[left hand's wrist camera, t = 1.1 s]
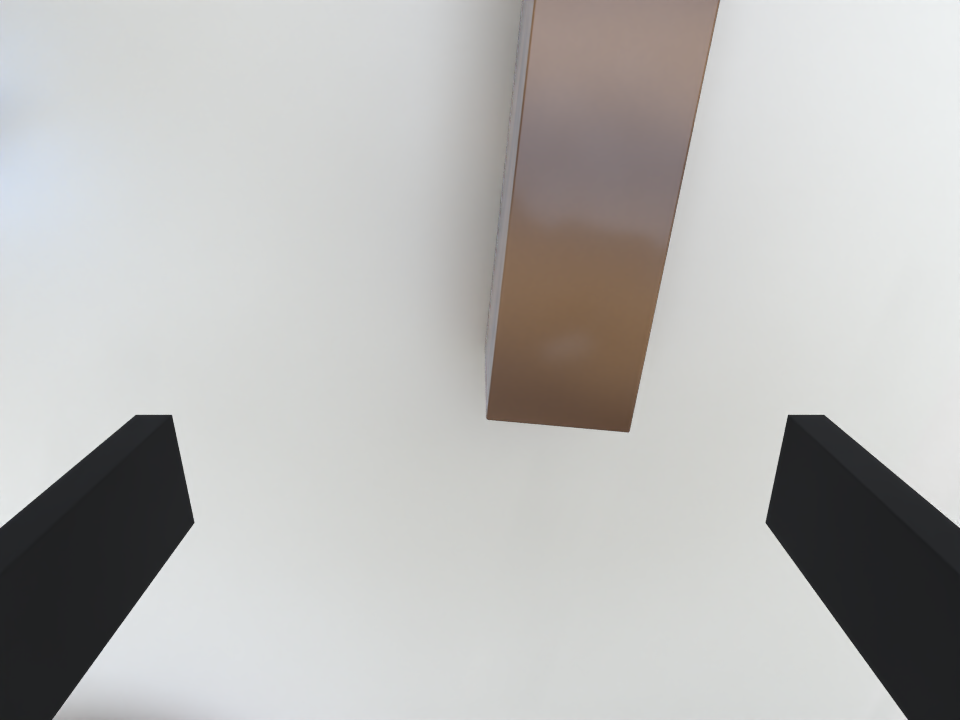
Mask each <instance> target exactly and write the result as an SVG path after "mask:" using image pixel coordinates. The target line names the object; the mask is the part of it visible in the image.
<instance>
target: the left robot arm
mask: <svg viewBox="0 0 960 720" xmlns="http://www.w3.org/2000/svg"><path fill="white" fill-rule="evenodd" d="M193 524H194V518H193V514H192V509H191V504H190V499H189V494H188V490H187V485H186V480H185V475H184V470H183V466H182V461H181V456H180V451H179V447H178V442H177V437H176V432H175V427H174V423H173V418H172V415H135V416H134V417H133V418H132V419H130V420H129V421H128V422H127V423H126V424H125V425H123V426H122V427H121V428H120V429H119V430H117V431H116V432H115V433H114V434H113V435H111V436H110V437H109V438H108V439H107V440H105V441H104V442H103V443H102V444H101V445H99V446H98V447H97V448H96V449H95V450H93V451H92V452H91V453H90V454H89V455H87V456H86V457H85V458H84V459H83V460H81V461H80V462H79V463H78V464H77V465H75V466H74V467H73V468H72V469H71V470H69V471H68V472H67V473H66V474H65V475H63V476H62V477H61V478H60V479H59V480H57V481H56V482H55V483H54V484H53V485H51V486H50V487H49V488H48V489H47V490H45V491H44V492H43V493H42V494H41V495H39V496H38V497H37V498H36V499H35V500H33V501H32V502H31V503H30V504H29V505H27V506H26V507H25V508H24V509H23V510H21V511H20V512H19V513H18V514H17V515H15V516H14V517H13V518H12V519H11V520H9V521H8V522H7V523H6V524H5V525H3V526H2V527H1V528H0V720H52V719H53V718H54V716H55V715H56V713H57V712H58V711H59V709H60V708H61V707H62V705H63V704H64V702H65V701H66V700H67V698H68V697H69V695H70V694H71V693H72V691H73V690H74V689H75V687H76V686H77V684H78V683H79V682H80V680H81V679H82V677H83V676H84V675H85V673H86V672H87V671H88V669H89V668H90V666H91V665H92V664H93V662H94V661H95V660H96V658H97V657H98V655H99V654H100V653H101V651H102V650H103V648H104V647H105V646H106V644H107V643H108V642H109V640H110V639H111V637H112V636H113V635H114V633H115V632H116V630H117V629H118V628H119V626H120V625H121V624H122V622H123V621H124V619H125V618H126V617H127V615H128V614H129V613H130V611H131V610H132V608H133V607H134V606H135V604H136V603H137V601H138V600H139V599H140V597H141V596H142V595H143V593H144V592H145V590H146V589H147V588H148V586H149V585H150V583H151V582H152V581H153V579H154V578H155V577H156V575H157V574H158V572H159V571H160V570H161V568H162V567H163V565H164V564H165V563H166V561H167V560H168V559H169V557H170V556H171V554H172V553H173V552H174V550H175V549H176V548H177V546H178V545H179V543H180V542H181V541H182V539H183V538H184V536H185V535H186V534H187V532H188V531H189V530H190V528H191V527H192V525H193ZM766 524H767V525H768V527H769V528H770V530H771V531H772V532H773V534H774V535H775V536H776V538H777V539H778V541H779V542H780V543H781V545H782V546H783V548H784V549H785V550H786V552H787V553H788V554H789V556H790V557H791V559H792V560H793V561H794V563H795V564H796V565H797V567H798V568H799V570H800V571H801V572H802V574H803V575H804V577H805V578H806V579H807V581H808V582H809V583H810V585H811V586H812V588H813V589H814V590H815V592H816V593H817V595H818V596H819V597H820V599H821V600H822V601H823V603H824V604H825V606H826V607H827V608H828V610H829V611H830V613H831V614H832V615H833V617H834V618H835V619H836V621H837V622H838V624H839V625H840V626H841V628H842V629H843V630H844V632H845V633H846V635H847V636H848V637H849V639H850V640H851V642H852V643H853V644H854V646H855V647H856V648H857V650H858V651H859V653H860V654H861V655H862V657H863V658H864V660H865V661H866V662H867V664H868V665H869V666H870V668H871V669H872V671H873V672H874V673H875V675H876V676H877V677H878V679H879V680H880V682H881V683H882V684H883V686H884V687H885V689H886V690H887V691H888V693H889V694H890V695H891V697H892V698H893V700H894V701H895V702H896V704H897V705H898V707H899V708H900V709H901V711H902V712H903V713H904V715H905V716H906V718H907V719H908V720H960V528H959V527H958V526H957V525H955V524H954V523H953V522H952V521H951V520H949V519H948V518H947V517H946V516H945V515H943V514H942V513H941V512H940V511H939V510H937V509H936V508H935V507H934V506H933V505H931V504H930V503H929V502H928V501H927V500H925V499H924V498H923V497H922V496H921V495H919V494H918V493H917V492H916V491H915V490H913V489H912V488H911V487H910V486H909V485H907V484H906V483H905V482H904V481H903V480H901V479H900V478H899V477H898V476H897V475H895V474H894V473H893V472H892V471H891V470H889V469H888V468H887V467H886V466H885V465H883V464H882V463H881V462H880V461H879V460H877V459H876V458H875V457H874V456H873V455H871V454H870V453H869V452H868V451H867V450H865V449H864V448H863V447H862V446H861V445H859V444H858V443H857V442H856V441H855V440H853V439H852V438H851V437H850V436H849V435H847V434H846V433H845V432H844V431H843V430H841V429H840V428H839V427H838V426H837V425H835V424H834V423H833V422H832V421H831V420H830V419H828V418H827V417H826V416H825V415H788V418H787V423H786V427H785V432H784V437H783V442H782V447H781V451H780V456H779V461H778V466H777V470H776V475H775V480H774V485H773V490H772V494H771V499H770V504H769V509H768V514H767V518H766Z"/></svg>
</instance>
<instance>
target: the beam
mask: <svg viewBox="0 0 960 720" xmlns="http://www.w3.org/2000/svg"><path fill="white" fill-rule="evenodd" d="M719 3H720V0H523V1H522V10H521V19H520V29H519V38H518V47H517V56H516V66H515V75H514V84H513V93H512V103H511V112H510V121H509V130H508V140H507V149H506V158H505V167H504V177H503V186H502V195H501V205H500V214H499V223H498V232H497V242H496V251H495V260H494V269H493V279H492V288H491V297H490V306H489V316H488V325H487V334H486V343H485V376H486V418H487V419H488V420H497V421H508V422H519V423H530V424H541V425H552V426H563V427H575V428H586V429H597V430H608V431H619V432H629V431H630V427H631V422H632V417H633V413H634V408H635V403H636V398H637V394H638V389H639V384H640V379H641V374H642V370H643V365H644V360H645V355H646V351H647V346H648V341H649V336H650V332H651V327H652V322H653V317H654V313H655V308H656V303H657V298H658V293H659V289H660V284H661V279H662V274H663V270H664V265H665V260H666V255H667V251H668V246H669V241H670V236H671V231H672V227H673V222H674V217H675V212H676V208H677V203H678V198H679V193H680V189H681V184H682V179H683V174H684V170H685V165H686V160H687V155H688V150H689V146H690V141H691V136H692V131H693V127H694V122H695V117H696V112H697V108H698V103H699V98H700V93H701V89H702V84H703V79H704V74H705V69H706V65H707V60H708V55H709V50H710V46H711V41H712V36H713V31H714V27H715V22H716V17H717V12H718V8H719Z"/></svg>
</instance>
